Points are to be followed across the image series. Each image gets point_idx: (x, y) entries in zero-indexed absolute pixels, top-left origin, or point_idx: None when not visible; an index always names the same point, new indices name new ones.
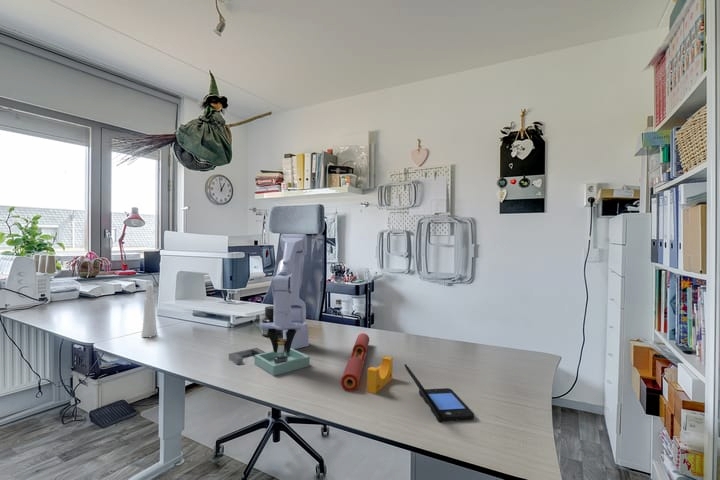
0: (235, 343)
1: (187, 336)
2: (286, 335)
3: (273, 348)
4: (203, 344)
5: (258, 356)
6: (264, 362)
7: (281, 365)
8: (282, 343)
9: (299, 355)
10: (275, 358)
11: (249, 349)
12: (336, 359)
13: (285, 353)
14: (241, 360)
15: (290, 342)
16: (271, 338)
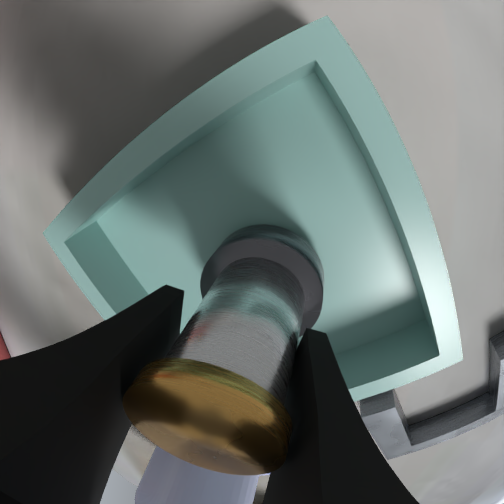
0: (424, 483)
1: (494, 487)
2: (18, 435)
3: (334, 361)
4: (497, 466)
5: (449, 333)
6: (423, 200)
7: (242, 63)
8: (184, 369)
9: (121, 304)
10: (311, 277)
11: (425, 446)
12: (12, 269)
13: (203, 300)
14: (502, 347)
15: (67, 340)
16: (375, 483)
